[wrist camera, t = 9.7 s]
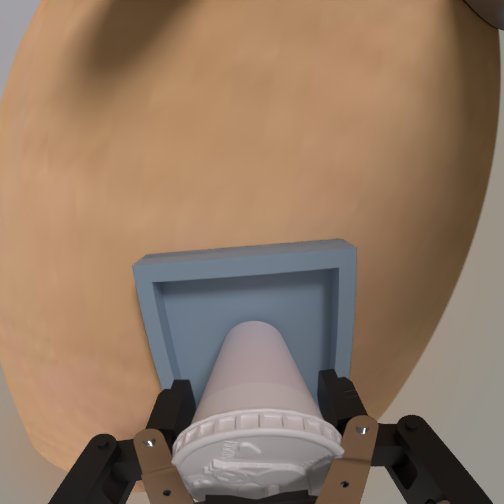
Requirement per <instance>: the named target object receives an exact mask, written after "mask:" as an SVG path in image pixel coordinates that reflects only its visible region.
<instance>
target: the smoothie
mask: <svg viewBox="0 0 504 504" xmlns="http://www.w3.org/2000/svg"><path fill="white" fill-rule="evenodd" d="M341 441H342V436H341V434H340V433H339V432H338V431H337V430H336V429H335V428H334V426H333V425H332V424H330V423H328V422H326V421H324V419H323V417H322V415H321V413H320V411H319V409H318V407H317V405H316V404H315V402H314V400H313V398H312V396H311V394H310V392H309V390H308V388H307V386H306V384H305V382H304V380H303V378H302V376H301V374H300V372H299V370H298V368H297V366H296V364H295V362H294V360H293V358H292V356H291V353H290V351H289V349H288V347H287V345H286V343H285V341H284V339H283V337H282V335H281V334H280V332H279V331H278V330H277V329H276V328H275V327H273V326H272V325H270V324H268V323H265V322H261V321H248V322H244V323H241V324H238V325H237V326H235V327H234V328H232V329H231V330H230V331H229V332H228V334H227V335H226V337H225V339H224V342H223V345H222V347H221V350H220V352H219V355H218V357H217V360H216V362H215V365H214V367H213V370H212V372H211V375H210V378H209V380H208V383H207V385H206V388H205V390H204V393H203V395H202V398H201V400H200V403H199V405H198V408H197V410H196V412H195V415H194V417H193V420H192V423H191V425H190V426H189V427H187V428H186V429H185V430H184V431H182V432H181V433H180V434H179V435H178V437H177V439H176V441H175V442H174V444H173V452H172V457H173V458H172V461H171V463H172V464H174V465H176V467H177V469H178V471H179V473H180V475H181V477H182V479H183V481H184V483H185V485H186V487H187V489H188V490H189V492H190V494H191V496H192V498H194V499H196V500H198V501H204V500H205V495H206V494H207V495H233V496H238V497H244V498H250V499H261V498H264V497H268V496H272V495H275V494H279V493H282V492H291V491H299V490H306V489H308V493H309V495H314V496H319V493H320V491H321V489H322V486H323V484H324V482H325V479H326V477H327V474H328V472H329V469H330V467H331V464H332V462H333V459H334V457H336V455H341V454H343V453H344V449H343V448H342V447H341V445H340V444H341Z"/></svg>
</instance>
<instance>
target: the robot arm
mask: <svg viewBox="0 0 504 504" xmlns="http://www.w3.org/2000/svg"><path fill="white" fill-rule="evenodd" d="M465 1H466V2H467V3H468V5H469V6H470V7H471V8H472V9H473V10H474V11H475V12H476V13H477V14H478V15H479V16H481V17H482V18H483V19H484V20H485V21H487V22H488V23H489V24H491V25H492V26H494V27H496V28H498V29H500V30H504V0H465ZM317 399H318V405H319V408H320V412H321V415H322V417H323V419H324V421H326V422H328V423H330V424H332V425H333V426H334V428H335V429H336V430H337V431H338V432H339V433H340V434H341V436H342V441H341V444H340V445H341V447H342V448H343V449H344V453H343V454H341V455H336V457H334V459H333V462H332V464H331V467H330V469H329V472H328V474H327V477H326V479H325V482H324V484H323V486H322V489H321V491H320V493H319V496H314V495H309V493H308V489H306V490H299V491H291V492H282V493H279V494H275V495H272V496H268V497H264V498H261V499H250V498H244V497H238V496H233V495H207V494H206V495H205V500H204V501H200V502H196V503H195V502H194V500H193V498H192V496H191V494H190V492H189V490H188V489H187V487H186V485H185V483H184V481H183V479H182V477H181V475H180V473H179V471H178V469H177V467H176V465H174V464H172V463H171V461H172V458H173V457H172V452H173V444H174V442H175V441H176V439H177V437H178V435H179V434H180V433H181V432H182V431H184V430H185V429H186V428H187V427H189V426H190V425H191V423H192V420H193V417H194V415H195V412H196V403H195V399H194V395H193V391H192V387H191V383H190V380H189V379H174V380H173V383H172V386H171V389H164V390H163V391H162V392H161V393H160V394H159V395H158V397H157V400H156V404H155V405H154V409H153V410H152V413H151V415H150V418H149V421H148V424H147V426H146V429H144V430H142V431H140V432H138V433H137V434H136V435H135V437H134V439H130V440H123V441H116V439H115V438H114V437H113V436H112V435H110V434H99V435H96V436H95V437H93V438H92V439H91V440H90V442H89V443H88V445H87V446H86V448H85V449H84V451H83V452H82V454H81V455H80V456H79V458H78V459H77V461H76V462H75V464H74V465H73V467H72V468H71V470H70V471H69V473H68V474H67V476H66V477H65V479H64V480H63V482H62V483H61V485H60V487H59V488H58V489H57V491H56V492H55V494H54V495H53V497H52V498H51V500H50V502H49V503H48V504H126V501H127V499H128V497H129V495H130V493H131V491H132V489H133V487H134V485H135V482H136V481H138V480H143V483H144V486H145V489H146V492H147V495H148V498H149V501H150V504H360V501H361V498H362V495H363V492H364V488H365V485H366V482H367V478H368V474H369V470H370V467H371V466H385V468H386V469H387V471H388V472H389V474H390V476H391V478H392V479H393V481H394V482H395V484H396V486H397V487H398V489H399V491H400V492H401V494H402V496H403V497H404V499H405V501H406V502H407V504H493V503H492V501H491V500H490V499H489V498H488V496H487V495H486V494H485V492H484V491H483V490H482V489H481V487H480V486H479V485H478V484H477V483H476V481H475V480H474V479H473V478H472V476H471V475H470V474H469V473H468V471H467V470H465V468H464V467H463V465H462V464H461V463H460V462H459V461H458V459H457V458H456V457H455V456H454V455H453V453H452V452H451V451H450V450H449V449H448V447H447V446H446V445H445V444H444V443H443V441H442V440H441V439H440V438H439V437H438V436H437V434H436V433H435V432H434V431H433V430H432V428H431V427H430V426H429V425H428V424H427V423H426V421H425V420H424V419H423V418H421V417H419V416H416V415H408V416H404V417H402V418H401V419H400V420H399V421H398V423H397V424H380V423H378V422H377V421H376V420H375V419H374V418H372V417H370V416H368V414H367V412H366V410H365V408H364V406H363V404H362V402H361V400H360V397H359V396H358V393H357V391H356V390H355V387H354V385H353V383H352V382H351V381H350V380H349V379H348V378H346V377H339V378H338V376H337V374H336V372H335V369H327V370H320V371H319V372H318V389H317Z"/></svg>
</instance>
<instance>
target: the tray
mask: <svg viewBox="0 0 504 504" xmlns="http://www.w3.org/2000/svg"><path fill="white" fill-rule="evenodd" d="M356 262H357V247H355V246H353V245H352V244H350V243H348V242H347V241H345V240H344V239H333V240H320V241H307V242H294V243H281V244H269V245H256V246H244V247H232V248H220V249H208V250H196V251H184V252H172V253H160V254H149V255H145V256H144V257H143V258H142V259H140V260H139V261H138V262H136V263H135V264H134V265H132V268H133V273H134V279H135V284H136V289H137V294H138V299H139V303H140V308H141V312H142V317H143V321H144V325H145V329H146V333H147V337H148V341H149V345H150V349H151V353H152V356H153V360H154V364H155V367H156V370H157V374H158V377H159V381H160V384H161V387H162V390H164V389H171V386H172V383H173V380H174V379H189V380H190V383H191V387H192V391H193V395H194V399H195V403H196V410H197V408H198V405H199V403H200V400H201V398H202V395H203V393H204V390H205V388H206V385H207V383H208V380H209V378H210V375H211V372H212V370H213V367H214V365H215V362H216V360H217V357H218V355H219V352H220V350H221V347H222V345H223V342H224V339H225V337H226V335H227V334H228V332H229V331H230V330H231V329H232V328H234V327H235V326H237V325H238V324H241V323H244V322H248V321H261V322H265V323H268V324H270V325H272V326H273V327H275V328H276V329H277V330H278V331H279V332H280V334H281V335H282V337H283V339H284V341H285V343H286V345H287V347H288V349H289V351H290V353H291V356H292V358H293V360H294V362H295V364H296V366H297V368H298V370H299V372H300V374H301V376H302V378H303V380H304V382H305V384H306V386H307V388H308V390H309V392H310V394H311V396H312V398H313V400H314V402H315V404H316V405H317V407H318V409H319V411H320V408H319V405H318V399H317V389H318V372H319V371H320V370H327V369H335V372H336V374H337V376H338V378H339V377H346V378H348V379H349V373H350V364H351V354H352V343H353V330H354V316H355V297H356ZM320 413H321V412H320Z"/></svg>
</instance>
